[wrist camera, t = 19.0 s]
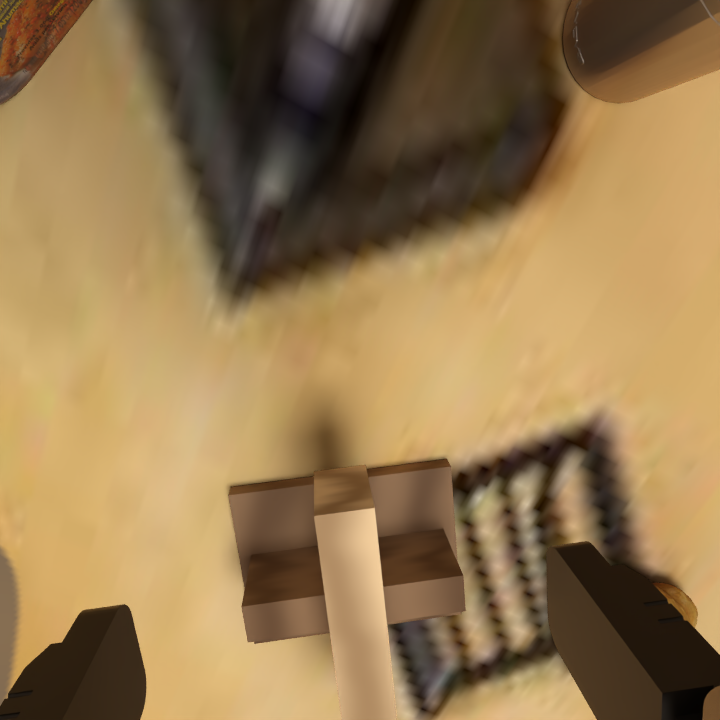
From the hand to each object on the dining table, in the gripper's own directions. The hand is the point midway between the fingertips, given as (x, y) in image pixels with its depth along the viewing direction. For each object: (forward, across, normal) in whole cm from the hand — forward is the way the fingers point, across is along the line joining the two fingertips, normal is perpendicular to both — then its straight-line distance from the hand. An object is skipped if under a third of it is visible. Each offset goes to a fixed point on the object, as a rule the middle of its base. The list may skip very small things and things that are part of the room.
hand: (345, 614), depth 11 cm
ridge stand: (+34, 0, +20) cm, 40 cm away
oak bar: (+26, 0, +20) cm, 33 cm away
